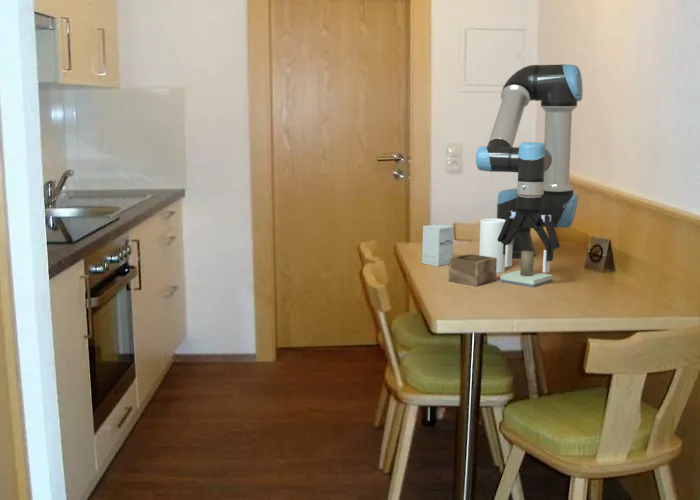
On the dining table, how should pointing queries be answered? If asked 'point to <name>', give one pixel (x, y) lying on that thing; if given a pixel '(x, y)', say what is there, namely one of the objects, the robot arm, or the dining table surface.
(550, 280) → the plate
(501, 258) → the cup
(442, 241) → the supplement box
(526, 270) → the lid
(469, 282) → the box
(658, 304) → the dining table surface
